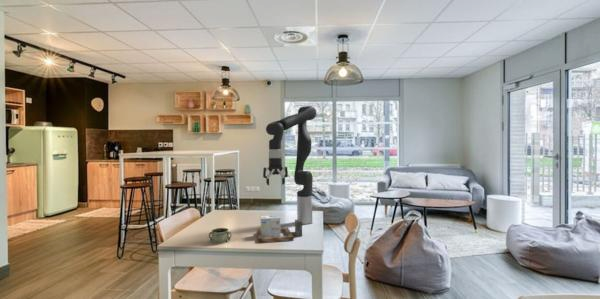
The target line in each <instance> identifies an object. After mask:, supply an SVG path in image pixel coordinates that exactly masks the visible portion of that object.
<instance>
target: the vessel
mask: <svg viewBox="0 0 600 299" xmlns="http://www.w3.org/2000/svg"><path fill="white" fill-rule="evenodd" d="M208 237H209V240H210V241H211V242H212V243H213V244H216V245H221V244H226V243H227V242H228V241H231V238H232V237H233V236H232V232H231V231H229V229H228V228H226V227H216V228H214V229H212V230H211V231H210V232H209V234H208Z"/></svg>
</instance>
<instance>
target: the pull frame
mask: <svg viewBox="0 0 600 299" xmlns="http://www.w3.org/2000/svg"><path fill="white" fill-rule="evenodd" d="M280 232H281V233H285V234H286V235H283V236H280V237H265V238H262V235H261V228H260V229H256V237H257V242H258V244H262V243H263V244H265V243H278V242H290V241H291V242H292V241H293V242H294V237H297V238H298V237H303V224H302V221H301V220H297V219H294V231H292V232H291V230H290V229H289V227H280Z"/></svg>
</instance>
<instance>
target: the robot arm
mask: <svg viewBox="0 0 600 299" xmlns="http://www.w3.org/2000/svg"><path fill="white" fill-rule="evenodd" d="M316 117H317V110H316V108H315V107H314V106H312V105H307V106H306V105H305V106H301V107H299V108H298V110H297V113H296V114H291V115H288V116H286V117H283V118H281V119H279V120H276V121H272V122H270V123H268V124H267V125H266V127H265V130H266V133H267V135H270V136H272V137H273V138H272V139H270V140H269V141H268V167H264V166H263V172H262V174H263V175H262V177H263V179H265V180H266V182H265V183H266V185H267V186H270V177H271V176H272V175H273V176H275V175H280V176H281V185H282V186H283V185H285V183H286V182H285V181H286V179H285V178H288V176H289V173H288V166H283V164H282V163H283V159H282V158H283V156H282V140H283V136H284V131H287V130H289V129H291V128H293V127H295V126H297V143H296V144H297V145H296V160H295V161H296V162H295V167H294V174H293V175H294V176H293V180H294V181H293V182H294V183H295V184H296V185H298V186H303V188H302V189H299V190H298V191H297V192H296V208H297V210H296V215H297V216H296V217H297V219H296V220H301V221H302V225H308V224H309V225H310V224H313V206H312V193H313V183H314V180H313V179H314V178H313V173H312V172H311V171H309V170H304V167H305V163H306V161H307V159H308V158H309V155H310V154H311V152H312V139H311V136H310V134H309V131H308V127H307V122H308V121H312V120H314V119H315V118H316ZM268 171H269V172H268ZM282 171H284V174H283V173H282ZM267 172H268V174H267ZM266 174H267V175H266Z"/></svg>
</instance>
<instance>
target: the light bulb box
mask: <svg viewBox="0 0 600 299" xmlns="http://www.w3.org/2000/svg"><path fill="white" fill-rule="evenodd" d="M280 228H281V216H280V215H279V214H277V215H261V216H260V229H261V235H262V238H265V237H280V236H281V232H280Z"/></svg>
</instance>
